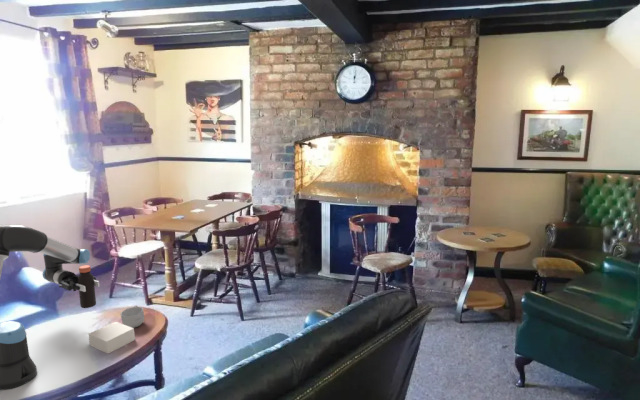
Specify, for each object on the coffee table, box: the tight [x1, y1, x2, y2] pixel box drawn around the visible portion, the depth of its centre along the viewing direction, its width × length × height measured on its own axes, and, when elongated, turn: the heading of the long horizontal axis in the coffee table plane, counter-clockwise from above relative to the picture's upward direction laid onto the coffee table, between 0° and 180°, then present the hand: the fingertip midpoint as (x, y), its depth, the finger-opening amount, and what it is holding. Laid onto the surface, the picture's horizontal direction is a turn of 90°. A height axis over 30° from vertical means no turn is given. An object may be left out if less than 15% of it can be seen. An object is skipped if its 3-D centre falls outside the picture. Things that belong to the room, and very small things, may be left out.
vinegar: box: [78, 264, 97, 309], centre depth 210 cm, size 7×7×20 cm
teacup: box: [120, 305, 145, 329], centre depth 222 cm, size 14×11×8 cm
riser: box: [88, 321, 136, 354], centre depth 203 cm, size 14×14×6 cm
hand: (91, 286), depth 207 cm, fingers closed on vinegar, 6 cm apart
